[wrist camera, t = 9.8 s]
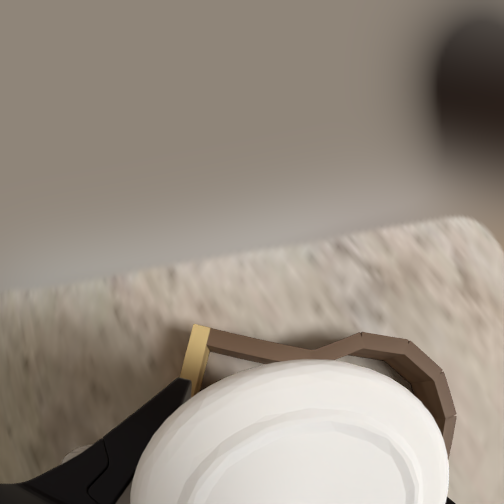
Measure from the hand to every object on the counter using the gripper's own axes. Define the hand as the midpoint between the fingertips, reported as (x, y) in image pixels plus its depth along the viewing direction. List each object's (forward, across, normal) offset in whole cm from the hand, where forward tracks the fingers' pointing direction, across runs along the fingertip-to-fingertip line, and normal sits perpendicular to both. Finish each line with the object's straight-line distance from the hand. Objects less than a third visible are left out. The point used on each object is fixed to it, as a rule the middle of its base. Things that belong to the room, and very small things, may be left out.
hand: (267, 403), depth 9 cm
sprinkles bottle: (+4, 0, +6) cm, 8 cm away
